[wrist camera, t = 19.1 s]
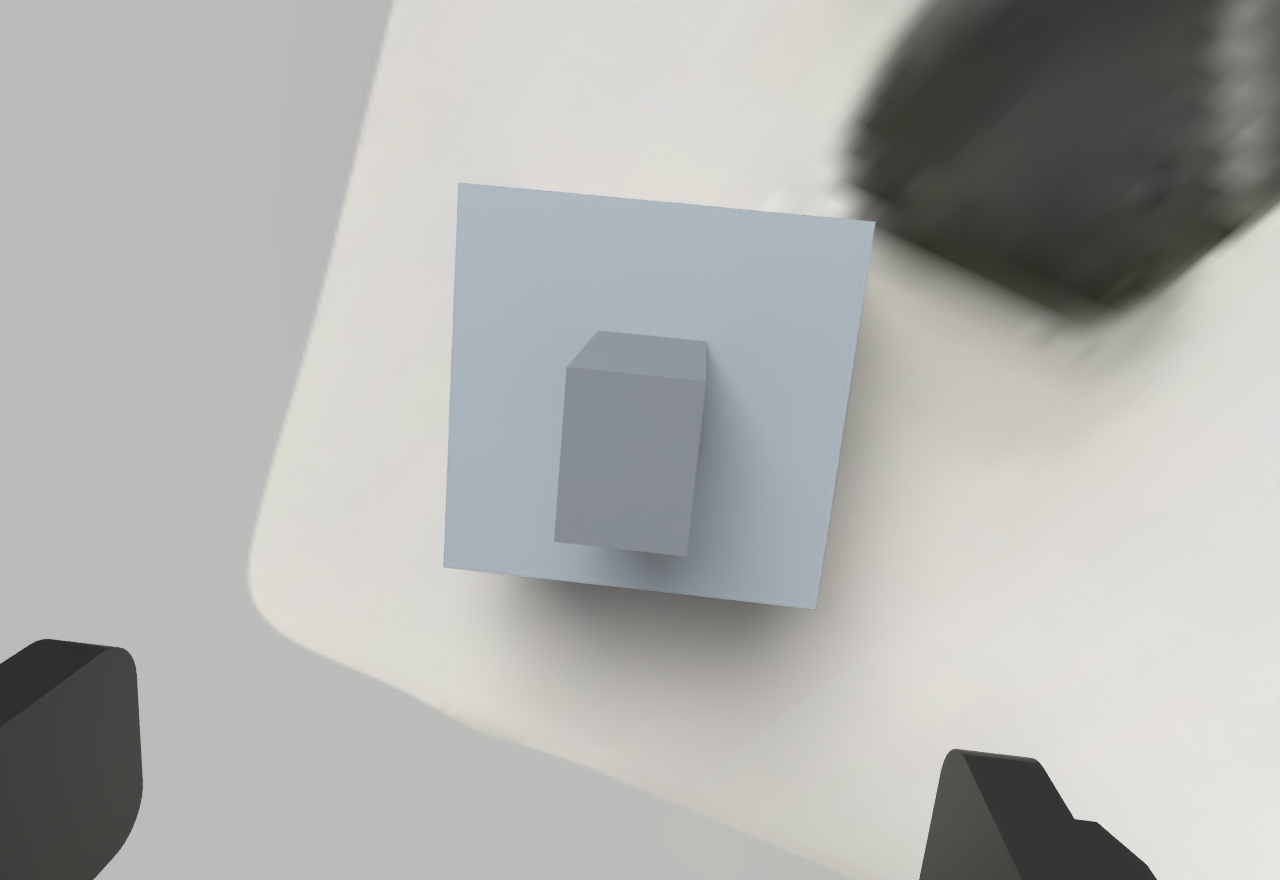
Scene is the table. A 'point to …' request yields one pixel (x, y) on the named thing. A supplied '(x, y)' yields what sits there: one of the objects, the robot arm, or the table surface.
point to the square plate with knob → (649, 391)
